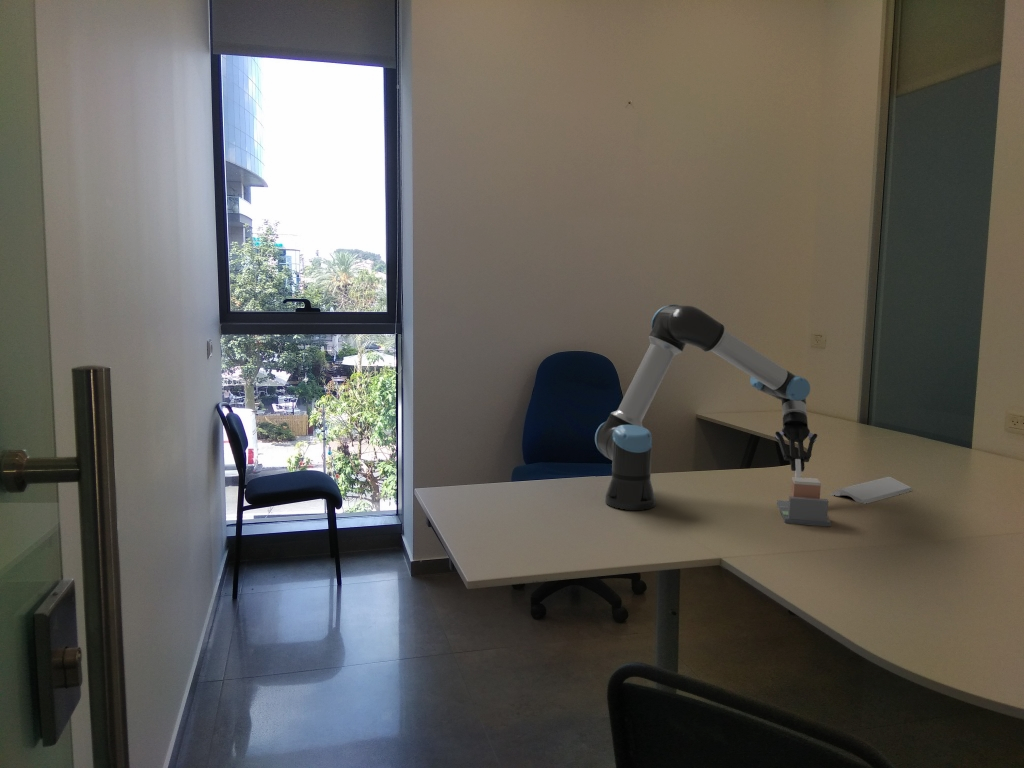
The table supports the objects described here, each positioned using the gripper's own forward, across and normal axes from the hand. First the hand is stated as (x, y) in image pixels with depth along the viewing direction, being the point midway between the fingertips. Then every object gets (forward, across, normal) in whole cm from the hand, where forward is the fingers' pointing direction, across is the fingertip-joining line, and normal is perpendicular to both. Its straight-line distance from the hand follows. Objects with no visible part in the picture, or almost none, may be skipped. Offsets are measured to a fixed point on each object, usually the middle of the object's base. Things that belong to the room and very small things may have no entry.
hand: (798, 479), depth 222 cm
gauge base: (+14, 0, +3) cm, 14 cm away
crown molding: (-8, -26, -20) cm, 34 cm away
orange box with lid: (+15, 0, +6) cm, 16 cm away
